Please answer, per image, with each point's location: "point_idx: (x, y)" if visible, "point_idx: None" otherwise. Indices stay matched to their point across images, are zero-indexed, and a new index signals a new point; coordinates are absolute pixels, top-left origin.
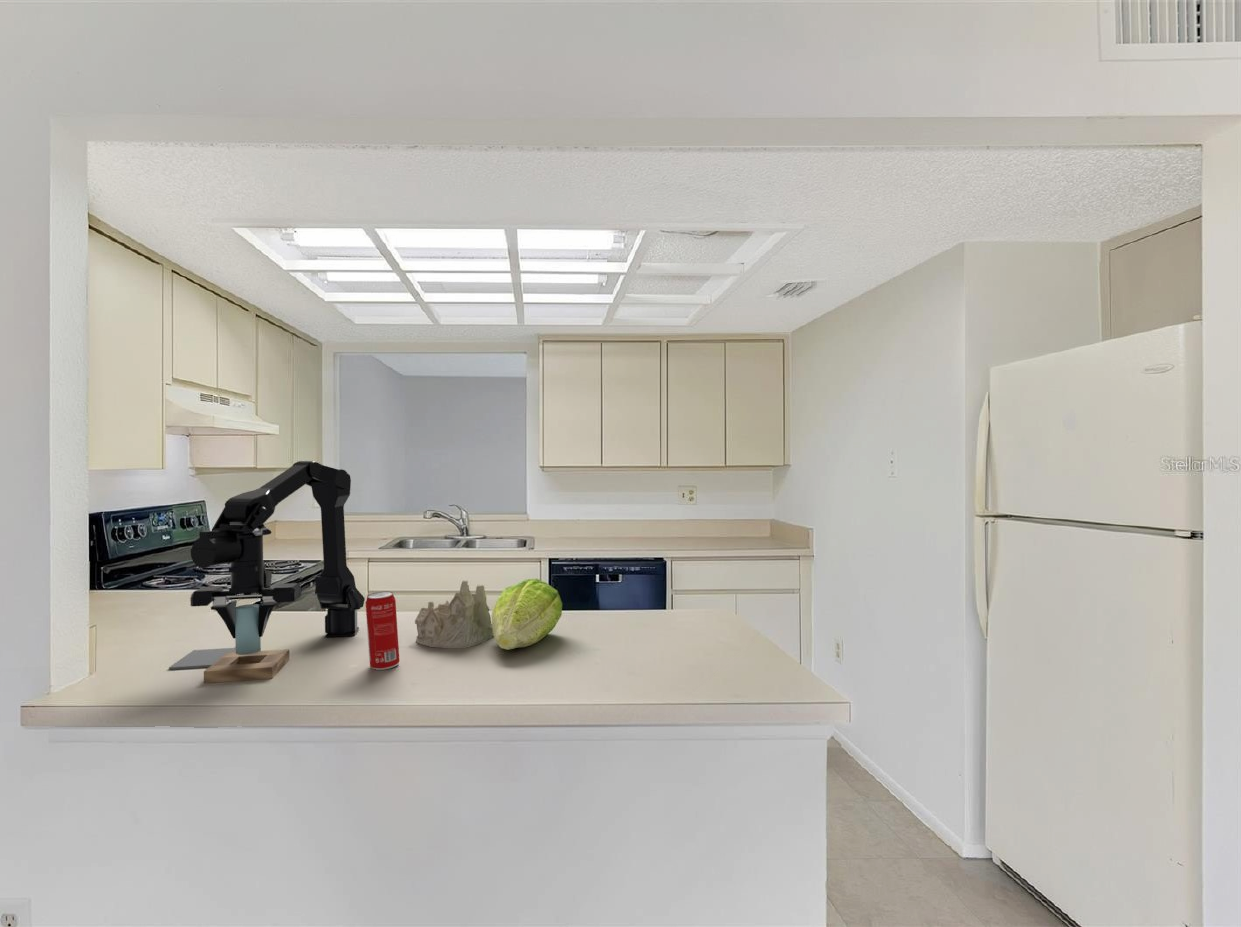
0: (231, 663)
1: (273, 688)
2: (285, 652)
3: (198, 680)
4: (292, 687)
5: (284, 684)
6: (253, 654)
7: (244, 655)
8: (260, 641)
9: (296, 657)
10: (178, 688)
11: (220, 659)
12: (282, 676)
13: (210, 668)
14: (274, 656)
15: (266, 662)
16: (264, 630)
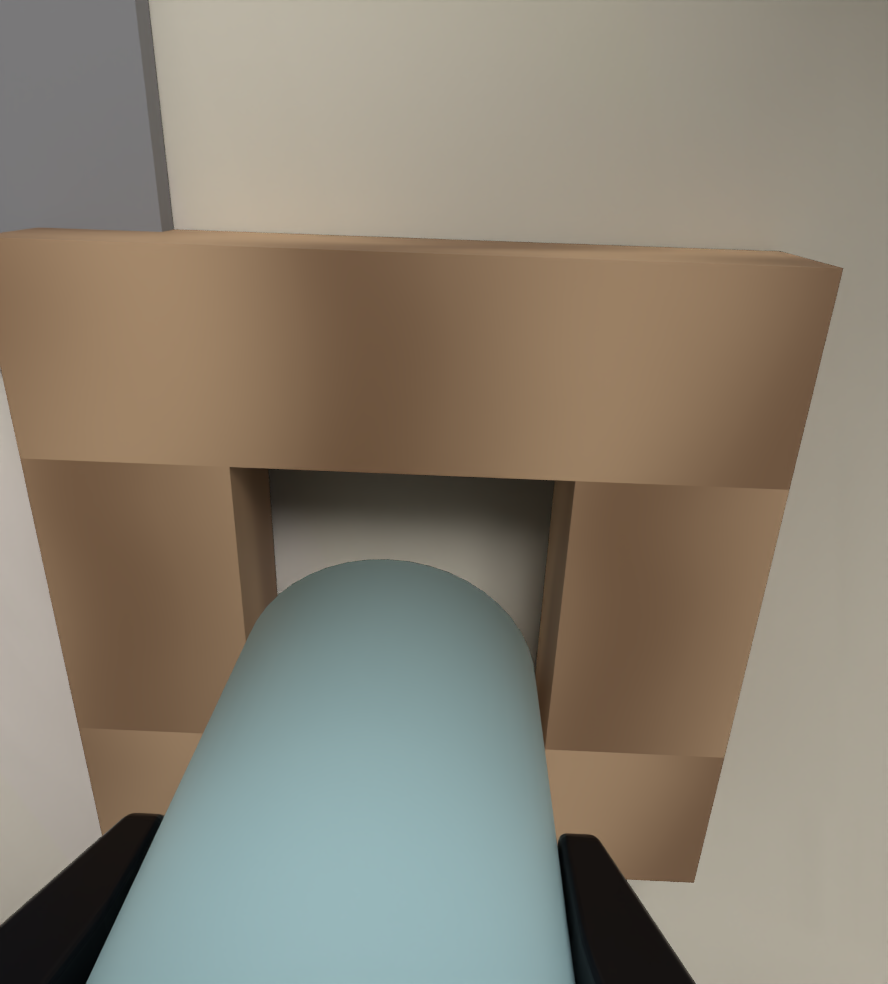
0: None
1: (701, 964)
2: (794, 431)
3: (64, 699)
4: (827, 975)
5: (770, 919)
6: (387, 418)
7: (284, 438)
8: (547, 770)
9: (864, 157)
10: (17, 827)
11: (56, 528)
12: (742, 766)
13: (121, 793)
14: (672, 570)
15: (618, 754)
16: (641, 912)
